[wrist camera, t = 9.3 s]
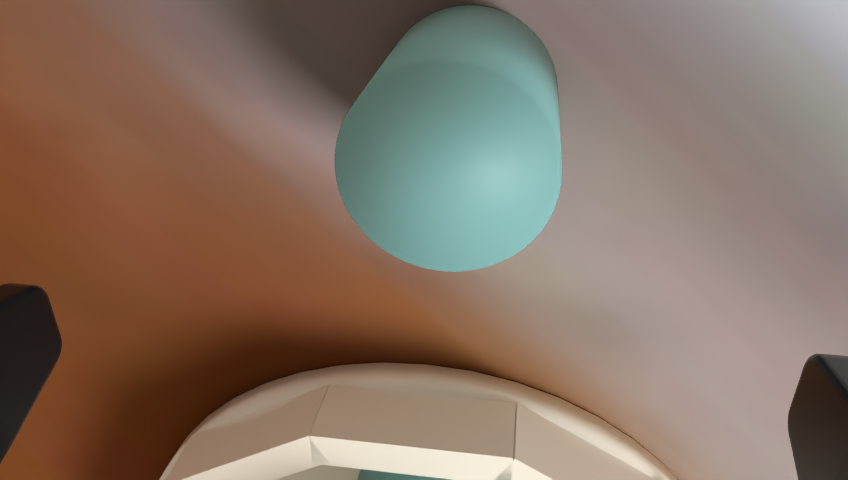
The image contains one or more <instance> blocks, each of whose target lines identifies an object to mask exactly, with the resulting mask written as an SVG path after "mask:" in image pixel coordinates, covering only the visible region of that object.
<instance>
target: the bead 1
mask: <svg viewBox="0 0 848 480" xmlns="http://www.w3.org/2000/svg"><path fill="white" fill-rule="evenodd" d="M335 174H336V181H337V185H338V188H339V192H340V195H341V197H342V200H343V202H344V204H345V207H346V208H347V210H348V212H349V214H350V215H351V217H352V219H353V220H354V221H355V223H356V224H357V225H358V227H359V228H360V229H361V230H362V231H363V232H364V233H365V234H366V235H367V237H368V238H369V239H371V240H372V241H373V242H374V243H375V244H377V245H378V246H379V247H380V248H382V249H383V250H385V251H386V252H388V253H389V254H391V255H393V256H395V257H397V258H399V259H401V260H403V261H405V262H407V263H410V264H413V265H416V266H419V267H423V268H427V269H431V270H439V271H456V272H458V271H469V270H475V269H480V268H485V267H488V266H491V265H494V264H497V263H499V262H501V261H503V260H506V259H508V258H510V257H511V256H513V255H515V254H516V253H518V252H519V251H521V250H522V249H523V248H525V247H526V246H527V245H528V244H529V243H530V242H532V241H533V240H534V238H535V237H536V236H537V235H538V234H539V233H540V232H541V231H542V229H543V228H544V226H545V225H546V223H547V222H548V220H549V218H550V216H551V214H552V212H553V210H554V208H555V205H556V202H557V199H558V196H559V192H560V186H561V177H562V162H561V142H560V122H559V102H558V85H557V76H556V72H555V68H554V64H553V62H552V60H551V57H550V55H549V53H548V51H547V49H546V48H545V46H544V44H543V43H542V41H541V40H540V39H539V38H538V36H537V35H536V34H535V33H534V32H533V31H532V30H531V29H530V28H529V27H528V26H527V25H525V24H524V23H523V22H521V21H520V20H519V19H517V18H515V17H513V16H511V15H510V14H508V13H505V12H503V11H500V10H498V9H495V8H490V7H486V6H478V5H459V6H454V7H448V8H445V9H442V10H439V11H436V12H434V13H432V14H430V15H428V16H426V17H424V18H423V19H421V20H420V21H418V22H417V23H416V24H415V25H413V26H412V27H411V28H410V29H409V30H408V31H407V32H406V33H405V34H404V36H403V37H402V38H401V39H400V40H399V42H398V43H397V45H396V46H395V47H394V49H393V50H392V51H391V53H390V54H389V55H388V57H387V58H386V60H385V61H384V62H383V64H382V65H381V66H380V68H379V69H378V71H377V72H376V73H375V75H374V76H373V77H372V79H371V80H370V82H369V83H368V84H367V86H366V87H365V88H364V90H363V91H362V93H361V94H360V95H359V97H358V98H357V99H356V101H355V102H354V104H353V105H352V107H351V108H350V110H349V111H348V113H347V115H346V116H345V119H344V121H343V123H342V125H341V128H340V131H339V134H338V138H337V141H336V149H335Z"/></svg>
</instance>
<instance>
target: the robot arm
mask: <svg viewBox="0 0 848 480" xmlns="http://www.w3.org/2000/svg"><path fill="white" fill-rule="evenodd" d="M61 347H62V340H61V336H60V332H59V329H58V326H57V323H56V320H55V317H54V313H53V310H52V307H51V304H50V301H49V298H48V295H47V293H46V292H45V291H44V290H43V289H42V288H41V287H39V286H36V285H25V284H13V283H10V284H4V285H1V286H0V463H1V462H2V460H3V458H4V457H5V455H6V453H7V451H8V450H9V448H10V446H11V445H12V443H13V441H14V439H15V437H16V435H17V434H18V432H19V430H20V428H21V426H22V424H23V423H24V421H25V419H26V417H27V415H28V414H29V412H30V410H31V408H32V406H33V404H34V403H35V401H36V399H37V397H38V395H39V393H40V392H41V390H42V388H43V386H44V384H45V383H46V381H47V379H48V377H49V375H50V373H51V372H52V370H53V368H54V366H55V364H56V362H57V361H58V358H59V356H60V353H61ZM788 432H789V437H790V442H791V447H792V451H793V456H794V461H795V466H796V471H797V475H798V480H848V356H838V355H827V354H814V355H812V356H811V357H809V358H808V360H807V361H806V363H805V365H804V368H803V371H802V374H801V377H800V380H799V383H798V386H797V389H796V392H795V395H794V397H793V400H792V403H791V406H790V410H789V415H788Z"/></svg>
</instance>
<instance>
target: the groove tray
mask: <svg viewBox="0 0 848 480" xmlns="http://www.w3.org/2000/svg"><path fill="white" fill-rule="evenodd" d="M361 469H365V470H373V471H382V472H391V473H399V474H408V475H417V476H425V477H434V478H443V479H452V480H678V479H677V478H676V477H675V476H674V475H673V474H672V473H671V472H670V471H669V469H668V468H667V467H666V466H665V465H664V464H663V463H662V462H660V461H659V460H658V459H657V458H656V457H654V456H653V455H652V454H651V453H649V452H648V451H647V450H646V449H645V448H643V447H642V446H641V445H640V444H639V443H637V442H636V441H635V440H634V439H632V438H631V437H629V436H628V435H626V434H624V433H623V432H621V431H620V430H618V429H617V428H615V427H613V426H612V425H610V424H609V423H607V422H606V421H604V420H602V419H601V418H599V417H598V416H595V415H593V414H591V413H589V412H587V411H585V410H583V409H581V408H579V407H577V406H575V405H573V404H571V403H569V402H567V401H565V400H563V399H561V398H559V397H556V396H553V395H550V394H548V393H545V392H542V391H539V390H537V389H534V388H531V387H528V386H526V385H523V384H520V383H517V382H514V381H510V380H506V379H502V378H498V377H494V376H490V375H486V374H482V373H478V372H474V371H469V370H462V369H455V368H448V367H441V366H434V365H428V364H407V363H383V362H381V363H366V364H350V365H338V366H332V367H327V368H321V369H316V370H310V371H305V372H300V373H296V374H293V375H290V376H287V377H284V378H280V379H277V380H274V381H271V382H268V383H265V384H262V385H260V386H258V387H256V388H254V389H252V390H250V391H248V392H245V393H243V394H241V395H239V396H237V397H235V398H233V399H232V400H230V401H229V402H227V403H226V404H224V405H223V406H221V407H220V408H218V409H217V410H215V411H214V412H213V413H211V414H210V415H208V416H207V417H206V418H205V419H204V420H203V421H202V422H201V423H200V424H199V425H198V426H197V427H196V428H195V429H194V430H193V431H192V432H191V433H190V434H189V435H188V436H187V437H186V439H185V440H184V442H183V443H182V444H181V446H180V447H179V449H178V450H177V452H176V453H175V454H174V456H173V457H172V459H171V461H170V462H169V464H168V466H167V467H166V469H165V471H164V472H163V474H162V476H161V477H160V479H159V480H357V479H358V475H359V472H360V470H361Z"/></svg>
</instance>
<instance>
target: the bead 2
mask: <svg viewBox="0 0 848 480" xmlns="http://www.w3.org/2000/svg"><path fill="white" fill-rule="evenodd" d="M357 480H452V479H443V478H434V477H425V476H417V475H408V474H399V473H391V472H382V471H373V470H365V469H361V470H360V472H359V475H358V479H357Z"/></svg>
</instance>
